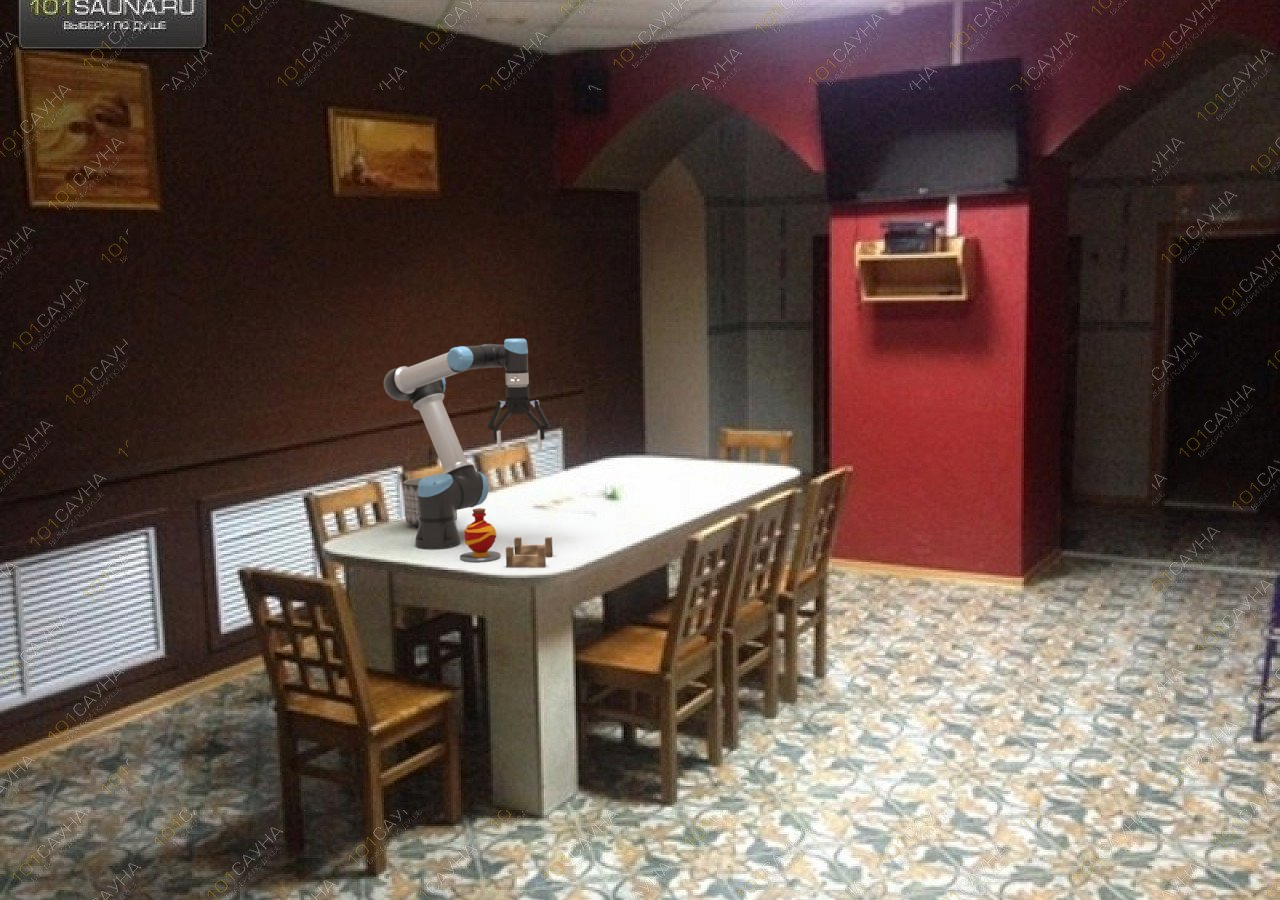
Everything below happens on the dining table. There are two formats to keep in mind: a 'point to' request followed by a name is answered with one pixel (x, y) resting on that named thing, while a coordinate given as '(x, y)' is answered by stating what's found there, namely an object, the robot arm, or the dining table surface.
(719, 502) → the dining table surface
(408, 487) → the planter
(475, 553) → the potion bottle
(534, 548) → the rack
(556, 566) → the dining table surface
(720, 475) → the dining table surface
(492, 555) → the coaster
